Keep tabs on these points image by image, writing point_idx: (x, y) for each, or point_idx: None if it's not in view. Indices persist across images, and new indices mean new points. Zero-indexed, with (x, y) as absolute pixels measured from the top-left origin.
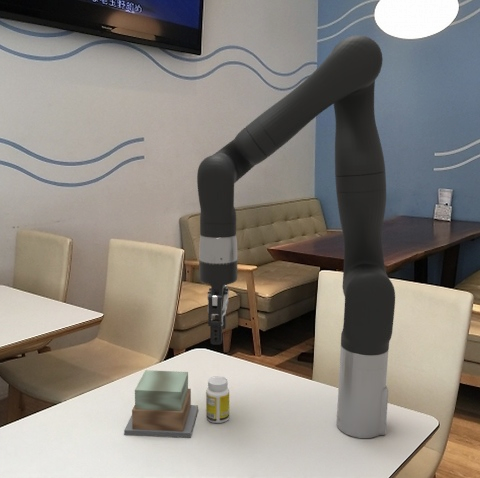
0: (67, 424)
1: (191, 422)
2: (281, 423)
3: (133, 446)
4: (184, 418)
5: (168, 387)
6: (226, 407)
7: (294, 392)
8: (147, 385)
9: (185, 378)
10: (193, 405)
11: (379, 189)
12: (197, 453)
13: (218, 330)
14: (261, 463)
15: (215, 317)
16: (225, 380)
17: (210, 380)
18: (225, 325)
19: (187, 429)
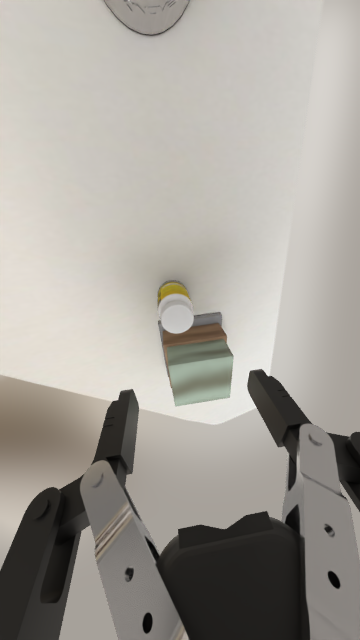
0: (206, 402)
1: (199, 320)
2: (168, 192)
3: (235, 353)
4: (212, 329)
5: (221, 371)
6: (182, 288)
7: (38, 168)
8: (217, 391)
9: (191, 362)
10: (159, 328)
11: None
12: (248, 298)
13: (303, 415)
14: (272, 217)
15: (134, 446)
16: (176, 308)
17: (180, 330)
18: (129, 397)
19: (214, 320)
